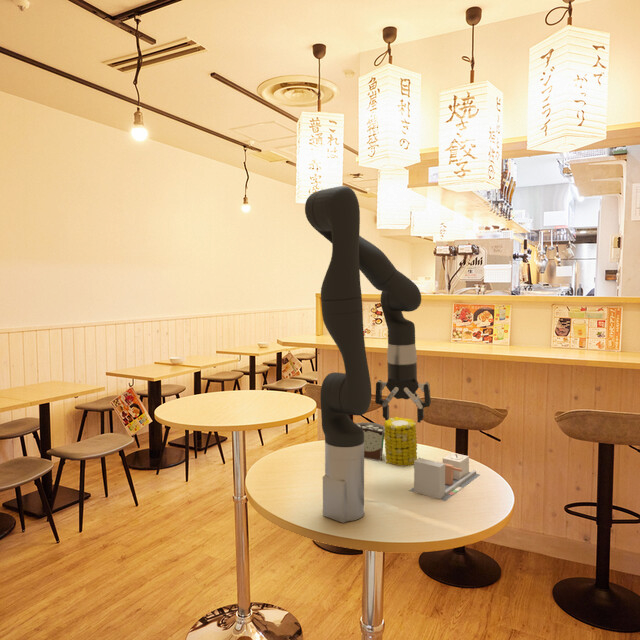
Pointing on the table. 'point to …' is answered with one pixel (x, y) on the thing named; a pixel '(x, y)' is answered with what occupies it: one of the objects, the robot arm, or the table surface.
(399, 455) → the food
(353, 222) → the robot arm
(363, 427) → the chocolate cake half
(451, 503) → the table surface
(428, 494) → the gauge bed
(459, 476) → the gauge housing
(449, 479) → the brown slider plate
